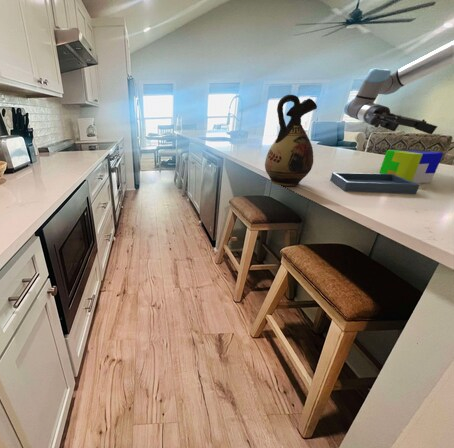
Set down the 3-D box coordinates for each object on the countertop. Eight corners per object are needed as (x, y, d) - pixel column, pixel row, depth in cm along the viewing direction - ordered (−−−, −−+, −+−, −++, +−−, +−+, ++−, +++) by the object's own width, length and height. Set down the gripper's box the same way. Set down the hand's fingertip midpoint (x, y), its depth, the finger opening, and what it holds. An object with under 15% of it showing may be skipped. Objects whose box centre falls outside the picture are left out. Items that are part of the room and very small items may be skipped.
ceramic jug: (296, 178, 97) (313, 94, 85) (316, 188, 83) (340, 90, 71) (253, 178, 99) (263, 96, 87) (265, 189, 85) (279, 93, 73)
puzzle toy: (430, 182, 84) (443, 153, 80) (401, 183, 84) (412, 154, 80) (404, 175, 93) (414, 149, 89) (377, 176, 93) (386, 150, 89)
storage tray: (390, 182, 86) (393, 173, 85) (415, 194, 74) (419, 184, 73) (330, 180, 92) (332, 172, 91) (344, 191, 79) (346, 182, 78)
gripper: (396, 125, 105) (440, 141, 88) (340, 121, 104) (373, 136, 88) (408, 107, 100) (458, 120, 83) (349, 102, 100) (387, 114, 83)
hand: (415, 128), depth 85 cm, fingers open, 13 cm apart
